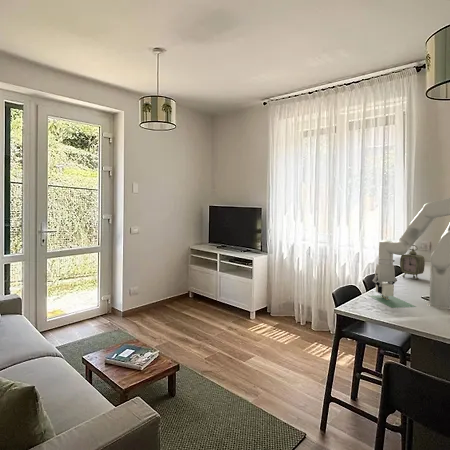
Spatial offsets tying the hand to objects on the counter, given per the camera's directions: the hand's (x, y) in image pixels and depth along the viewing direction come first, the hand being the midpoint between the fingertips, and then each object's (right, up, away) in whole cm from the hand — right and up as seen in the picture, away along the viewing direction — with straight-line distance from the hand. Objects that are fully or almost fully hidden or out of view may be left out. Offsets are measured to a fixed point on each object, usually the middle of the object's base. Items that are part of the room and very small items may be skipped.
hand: (384, 292), depth 201 cm
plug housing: (0, -1, 0) cm, 1 cm away
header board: (+1, -5, -6) cm, 8 cm away
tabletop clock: (+47, -1, +57) cm, 74 cm away
